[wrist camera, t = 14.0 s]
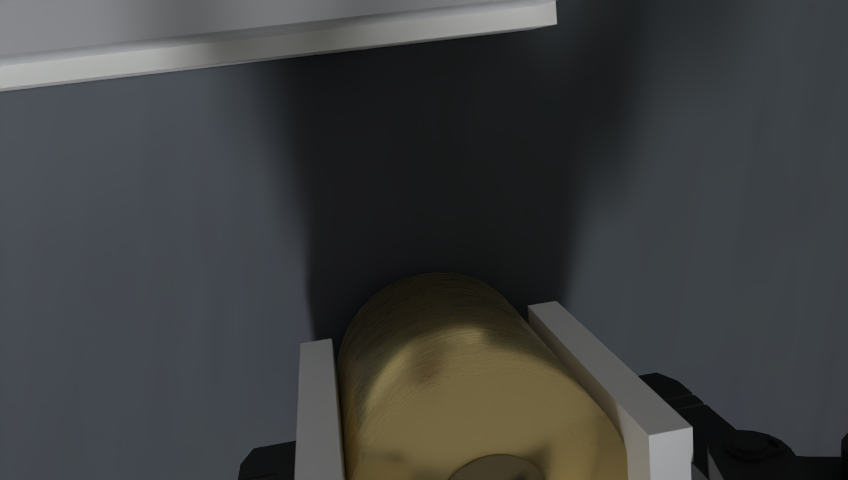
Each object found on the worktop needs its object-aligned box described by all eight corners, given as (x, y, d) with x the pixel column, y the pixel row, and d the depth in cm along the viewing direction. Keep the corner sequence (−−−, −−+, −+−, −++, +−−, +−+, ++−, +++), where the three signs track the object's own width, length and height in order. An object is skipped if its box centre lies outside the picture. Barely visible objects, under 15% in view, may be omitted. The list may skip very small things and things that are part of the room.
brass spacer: (352, 470, 18) (371, 658, 12) (322, 288, 17) (328, 402, 11) (536, 435, 19) (638, 598, 13) (521, 257, 17) (626, 349, 12)
